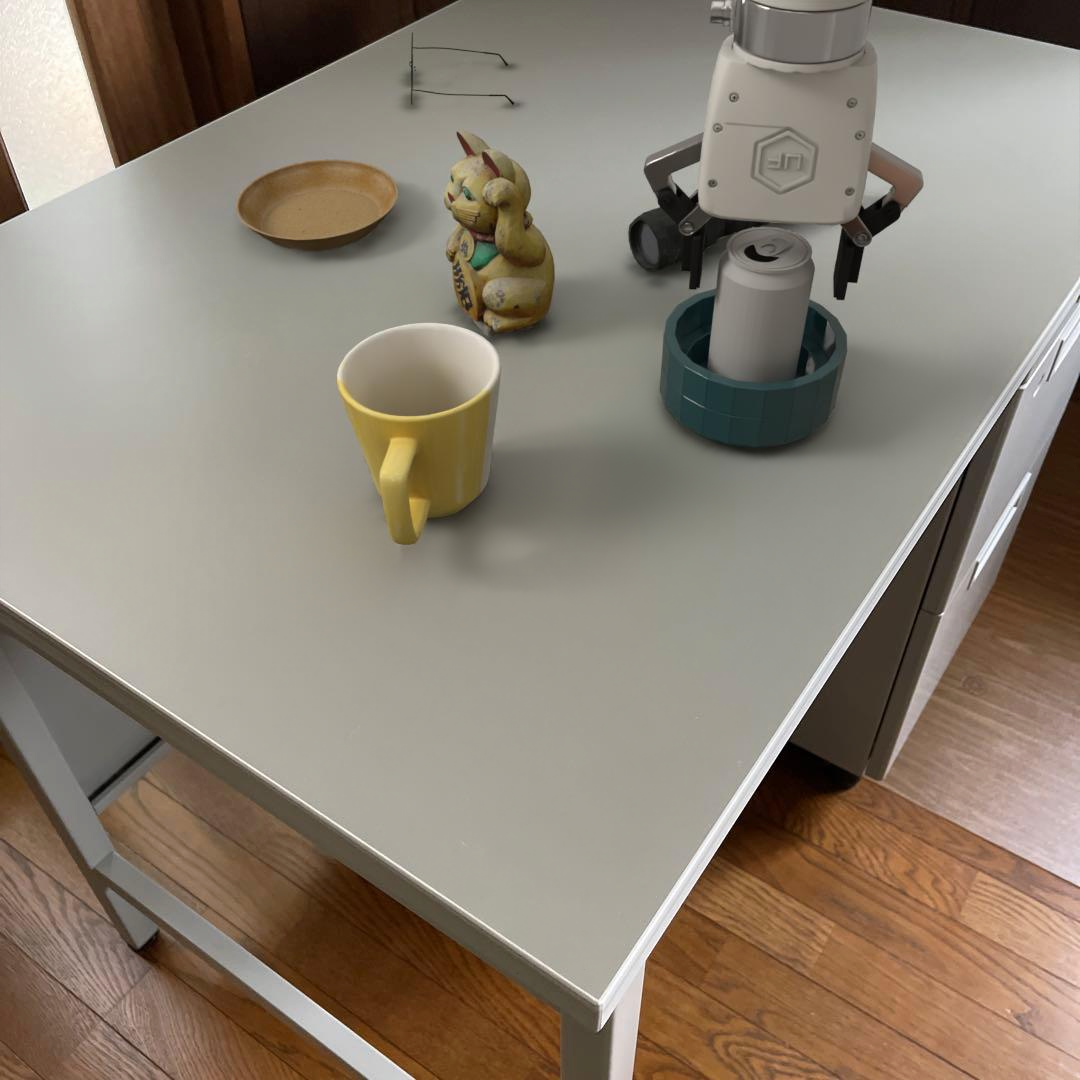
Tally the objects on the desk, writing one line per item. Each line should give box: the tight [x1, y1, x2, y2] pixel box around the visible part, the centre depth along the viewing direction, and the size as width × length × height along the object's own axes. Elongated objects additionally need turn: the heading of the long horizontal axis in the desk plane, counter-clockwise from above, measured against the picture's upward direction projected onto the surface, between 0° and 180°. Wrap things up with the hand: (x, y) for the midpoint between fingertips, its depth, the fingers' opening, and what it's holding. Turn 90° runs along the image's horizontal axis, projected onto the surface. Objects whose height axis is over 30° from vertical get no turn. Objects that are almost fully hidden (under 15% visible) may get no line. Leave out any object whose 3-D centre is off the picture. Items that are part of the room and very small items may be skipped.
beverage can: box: [707, 226, 816, 383], centre depth 78 cm, size 6×6×12 cm
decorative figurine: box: [443, 130, 556, 338], centre depth 86 cm, size 10×8×15 cm
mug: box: [336, 322, 502, 546], centre depth 71 cm, size 14×10×10 cm
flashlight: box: [627, 206, 773, 272], centre depth 98 cm, size 5×21×5 cm, turn 122°
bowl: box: [659, 288, 848, 449], centre depth 81 cm, size 13×13×6 cm
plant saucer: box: [235, 158, 399, 252], centre depth 102 cm, size 15×15×3 cm
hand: (766, 284), depth 75 cm, fingers open, 9 cm apart
